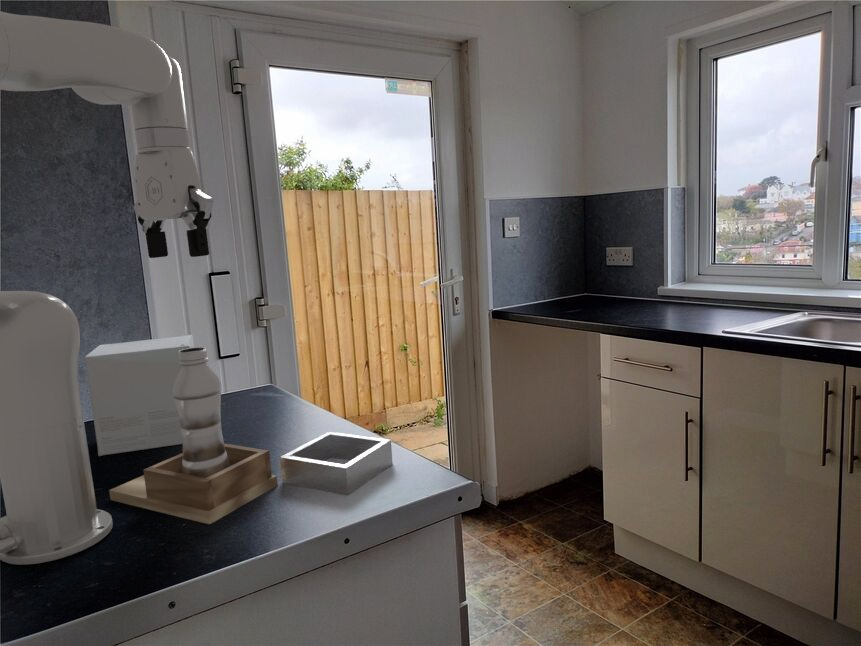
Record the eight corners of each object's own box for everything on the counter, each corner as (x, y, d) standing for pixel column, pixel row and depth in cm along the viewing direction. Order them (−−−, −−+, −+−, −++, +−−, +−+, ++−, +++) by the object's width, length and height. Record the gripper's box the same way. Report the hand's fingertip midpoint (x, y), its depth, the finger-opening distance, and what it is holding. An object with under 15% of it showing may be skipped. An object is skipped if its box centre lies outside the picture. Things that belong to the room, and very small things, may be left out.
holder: (348, 495, 87) (346, 468, 87) (282, 482, 93) (279, 457, 92) (392, 464, 98) (390, 439, 97) (330, 454, 104) (328, 431, 103)
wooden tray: (209, 524, 81) (204, 484, 80) (110, 499, 90) (105, 463, 89) (277, 485, 92) (274, 449, 91) (183, 467, 102) (179, 434, 101)
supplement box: (205, 421, 126) (194, 333, 123) (202, 442, 113) (190, 345, 111) (111, 434, 121) (98, 343, 118) (96, 457, 108) (82, 356, 106)
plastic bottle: (173, 495, 87) (155, 355, 84) (203, 475, 93) (188, 344, 90) (212, 498, 85) (196, 355, 82) (241, 478, 92) (226, 345, 88)
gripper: (105, 148, 96) (122, 259, 99) (180, 135, 87) (196, 258, 90) (149, 150, 102) (163, 255, 105) (222, 138, 93) (236, 253, 96)
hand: (178, 256), depth 97 cm, fingers open, 9 cm apart
